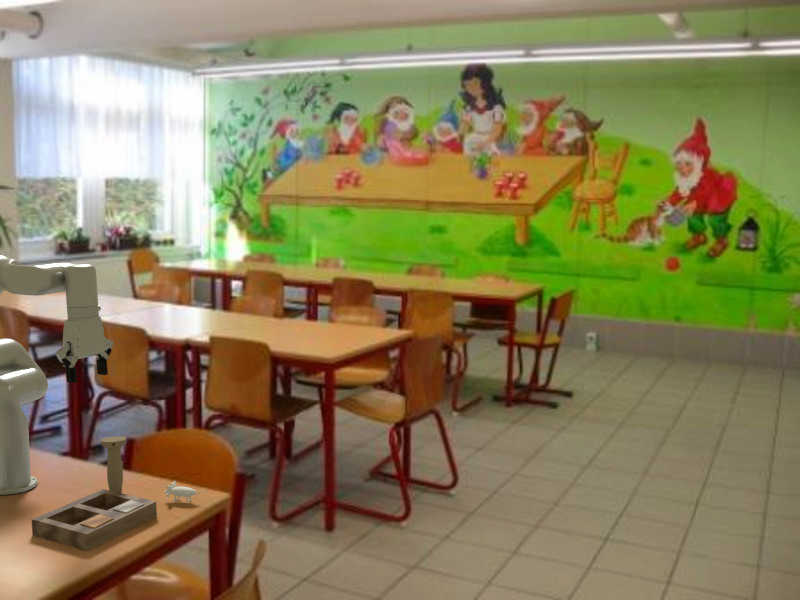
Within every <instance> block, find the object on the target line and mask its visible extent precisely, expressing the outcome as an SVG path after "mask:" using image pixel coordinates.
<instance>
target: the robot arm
mask: <svg viewBox="0 0 800 600" xmlns="http://www.w3.org/2000/svg"><path fill="white" fill-rule="evenodd" d="M97 279H98V278H97V270H96V267H95V266H94V265H93V264H89V263H83V264H82V263H80V264H79V263H77V264H74V263H70V262H57V263H47V264H40V265H38V264H37V265H23V264H22V263H21V262H20V261H18V260H17V259H15V258H8V257H7V256H4V255H0V295H1V294H2V293H4V292H5V291H6V292H8V293H10V294H12V295H13V294H14V295H20V296H21V295H22V296H47V295H52V294H59V293H64V292H65V300H66V301H65V302H66V312H67V313H66V314H67V315H66V317H67V319H64V325H63V331H62V346H61V347H60V348H59V349H58V350H56V352H55V356H56V357H57V359H58V362H59V363H60V364H62V367H64V368H65V378H66V382H67V383H71V384H77V382H78V371H77V366H76V364H77V362H78V360H80V359H85V358H89V357H94V356H96V357H97V359H96V374H98V375H100V376H101V375H102V376H107V375H108V374H109V373H108V360H109V359H110V355H111V353H112V352H113V351H112V348H113V345H114V341H113V340H111V339H109V338H106V336H105V330H104V329H105V328H104V325H103V320H102V317H101V316H100V312H101V310H102V308H101V306H100V305H99V296H98V295H99V294H98V280H97ZM75 366H76V367H75ZM48 389H49V383H48V379H47V377H46V374H45V373H44V370H42V369H41V367H40V366H39V365H38V363H37V362H36V361H35V359H33V357H32V356H31V355H30V354H29V352H28V351H27V350H26V349H25V347H24V346H23V345H22V344H21V343H19V342H18V341H16V339H15V340H14V339H12V338H9V337H8V338H6V337H5V338H4V337H3V338H0V496H1V495H2V496H3V495H4V496H7V495H8V496H9V495H17V494H20V493H25V492H28V491H29V490H31V489H33V488H35V487H37V485H38V478H37V477H35V476H34V475H32V472H31V470H32V469H31V453H30V451H31V450H30V436H29V435H30V434H29V422H28V419H27V417H26V415H25V413H24V411H23V410H22V407H21V406H23V405H26V404H28V403H32V402H35V401H37V400H40V399H41V398H42V397H44V396H45V395H46V394H47V391H48Z"/></svg>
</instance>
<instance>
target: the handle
mask: <svg viewBox="0 0 800 600" xmlns="http://www.w3.org/2000/svg"><path fill="white" fill-rule="evenodd" d="M126 443H127V437H126V436H120V435H119V436H118V435H117V436H107V437H103V438H101V439H100V445H101V446H102V447H104V448H106V451H107V455H106V456H107V457H106V458H107V460H106V461H107V465H106V466H107V467H106V469H107V470H106V472H107V474H106V477H107V485H108V486H107V487H108V488H109V489H108V490H110V491H114V492H118V493H123V483H124V482H123V481H124V472H123V471H124V470H123V462H122V461H123V459H122V447H123V446H125V445H126Z"/></svg>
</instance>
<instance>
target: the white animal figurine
mask: <svg viewBox="0 0 800 600" xmlns="http://www.w3.org/2000/svg"><path fill="white" fill-rule="evenodd" d="M176 482H177V480H174V481H172V482H171V484H170V485H166V490H165V491H164V494H165V496H166V499H169V497H170V495H173V496H174V503H175V502H176V503H177V500H178V501H181V499H180V497H181V498H182V497H183V498H186V499H185V501H186V502H185V504H186V503H188V504H189V502H190V501H191V502H192V496H193V497H194V496H195V495H197V494H201V493H205V492H207V491H208V489H205V490H202V491H200V492H197V491H196V489H193V488H191V487H188V486H177V483H176Z"/></svg>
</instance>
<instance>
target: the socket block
mask: <svg viewBox="0 0 800 600" xmlns="http://www.w3.org/2000/svg"><path fill="white" fill-rule="evenodd" d="M157 510H158V509H157V501H155V500H151V499H147V498H142V497H139V496H135V495H130V494H125V493H123V492H121V493H118V492H114V491H110V490H109V489H104V488H103V489H100V490H98V491H95V492H94V493H91V494H88V495H86V496H84V497H81V498H79V499H76V500H73V501H72V502H70V503H66V504H65V505H63V506H60V507H57V508H55V509H53V510H50V511H48V512H46V513H43V514H41V515H38V516H36V517H34V518H32V519H31V530H32V531H31V532H32V537H33V536H34V537H35V538H36V537H37V538H40V539H45V540H48V541H50V540H51V541H52V542H54V541H55V543H57V542H58V543H59V544H61V543H62V545H65V546H68V545H69V547H72V546H73V547H72V548H75V547H76V549H79V548H80V549H79V550H82V549H83V550H82V551H86V550H87V552H89V551H91V550H93V549H95V548H97V547H98V546H102V545H103V544H105V543H107V542H108V541H111V540H113V539H115V538H117V537H119V536H121V535H124V534H125V533H127V532H130V531H131V530H133V529H135V528H137V527H140V526H141V525H144V524H145V523H147V522H150V521H151V520H154V519H155V518H157V516H158V514H157V513H158V512H157ZM74 523H76V524H74ZM73 524H74V525H73Z"/></svg>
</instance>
